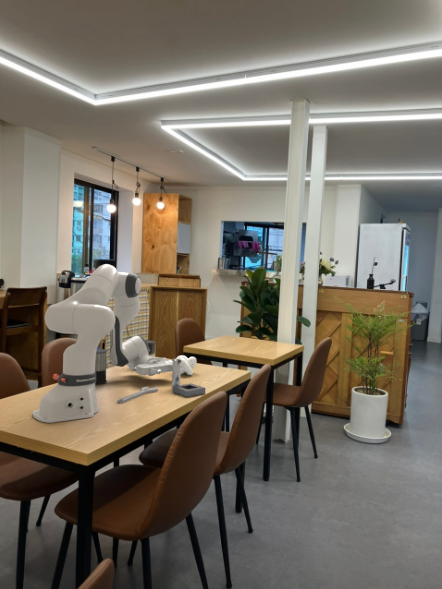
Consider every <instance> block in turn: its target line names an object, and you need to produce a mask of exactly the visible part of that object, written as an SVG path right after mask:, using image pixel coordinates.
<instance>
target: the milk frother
mask: <svg viewBox="0 0 442 589" xmlns="http://www.w3.org/2000/svg"><path fill="white" fill-rule="evenodd" d="M107 353H108V350H107V349H104V348H97V351H96V359H95V372H96V386H100V385H101V386H102V385H105V384H107V383H108V381H107Z"/></svg>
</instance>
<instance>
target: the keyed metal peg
mask: <svg viewBox="0 0 442 589" xmlns="http://www.w3.org/2000/svg"><path fill="white" fill-rule="evenodd" d="M171 361H173V368H172V371H171V372H172V374H171V375H172V376H171V379H172V380H171V389H172V388H173V386H179V385H181V375H180V368H181V359H176V358H175V357H174V358H172V360H171Z"/></svg>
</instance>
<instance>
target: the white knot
mask: <svg viewBox="0 0 442 589" xmlns="http://www.w3.org/2000/svg"><path fill="white" fill-rule="evenodd" d="M175 359H181V368H180V376H181V375H183V374H187V375H188V376H192V375H193V374H194V371H193V369H194V368H195V367H196V364H197V358H196V357H195V356H190V357H189V358H188V357H187V356H186V355H178V356H176V358H175Z"/></svg>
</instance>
